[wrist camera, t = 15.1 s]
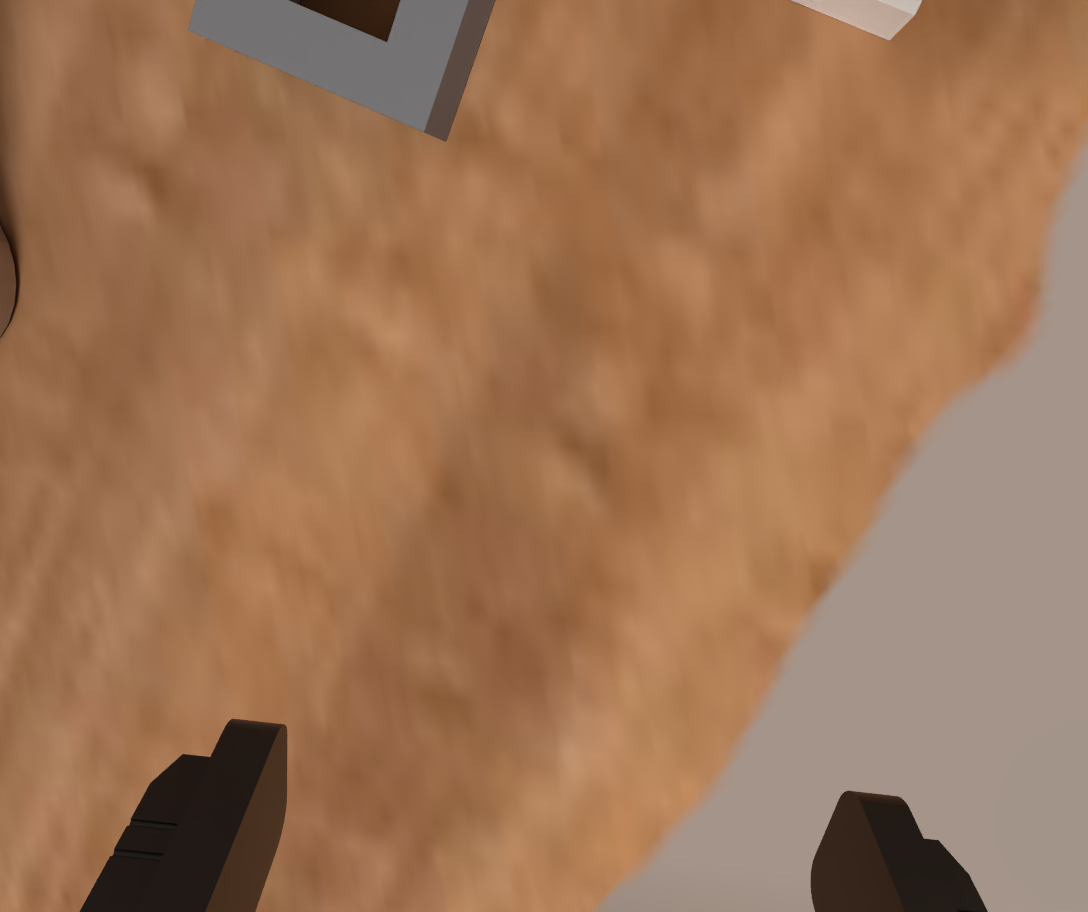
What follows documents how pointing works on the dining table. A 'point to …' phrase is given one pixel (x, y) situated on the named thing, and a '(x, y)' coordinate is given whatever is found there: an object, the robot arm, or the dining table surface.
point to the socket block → (361, 52)
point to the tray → (868, 13)
